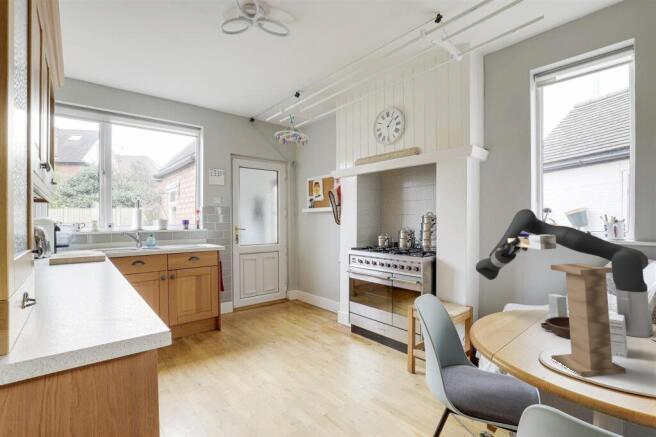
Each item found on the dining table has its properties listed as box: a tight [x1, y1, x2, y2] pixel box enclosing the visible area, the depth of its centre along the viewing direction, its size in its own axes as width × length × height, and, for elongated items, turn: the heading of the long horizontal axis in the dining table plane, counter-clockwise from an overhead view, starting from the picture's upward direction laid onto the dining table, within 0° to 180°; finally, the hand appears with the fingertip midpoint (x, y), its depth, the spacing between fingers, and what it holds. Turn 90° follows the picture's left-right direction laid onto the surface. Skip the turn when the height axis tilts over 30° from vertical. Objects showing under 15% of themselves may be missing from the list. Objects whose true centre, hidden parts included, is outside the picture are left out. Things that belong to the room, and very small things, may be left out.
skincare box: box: [548, 293, 568, 318], centre depth 145 cm, size 6×4×12 cm
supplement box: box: [609, 313, 628, 359], centre depth 112 cm, size 7×7×13 cm
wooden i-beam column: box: [550, 262, 626, 377], centre depth 103 cm, size 14×12×32 cm
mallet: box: [508, 234, 557, 250], centre depth 130 cm, size 6×22×5 cm, turn 3°
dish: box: [540, 316, 570, 339], centre depth 130 cm, size 17×22×5 cm
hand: (523, 239), depth 133 cm, fingers closed on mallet, 3 cm apart
